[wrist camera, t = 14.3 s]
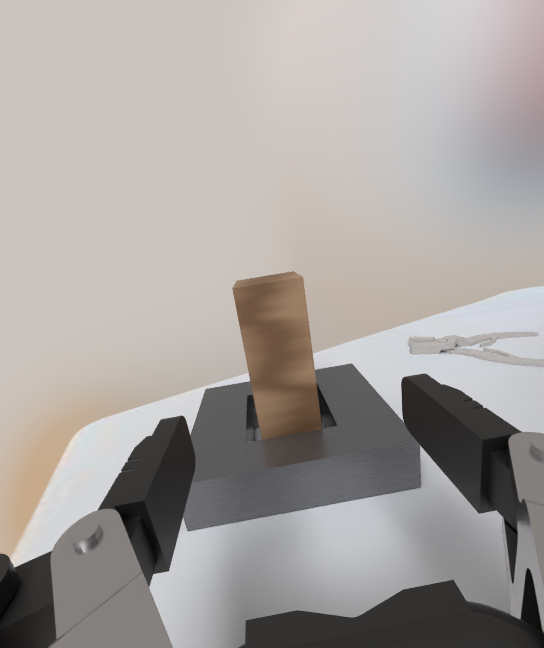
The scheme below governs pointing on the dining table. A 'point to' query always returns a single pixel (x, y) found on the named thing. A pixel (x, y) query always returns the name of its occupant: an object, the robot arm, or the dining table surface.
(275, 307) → the walnut peg
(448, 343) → the pliers
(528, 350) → the dining table surface
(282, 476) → the socket block
